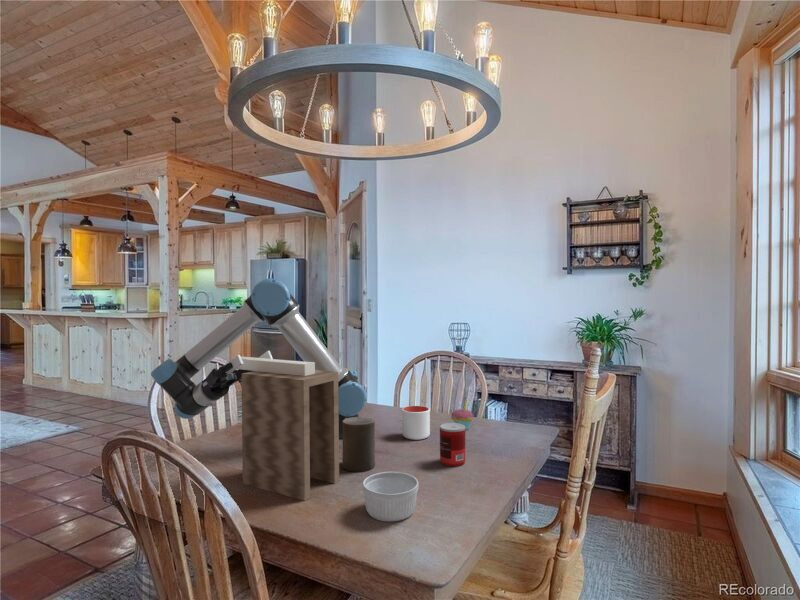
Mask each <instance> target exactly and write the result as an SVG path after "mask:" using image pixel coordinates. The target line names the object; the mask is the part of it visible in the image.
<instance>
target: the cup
mask: <svg viewBox="0 0 800 600" xmlns="http://www.w3.org/2000/svg"><path fill="white" fill-rule="evenodd" d="M401 429H402V430H401V433H402V436H403V437H404V438H406V439H408V440H412V441H413V440H414V441H417V440H419V441H420V440H425V439H427V438H429V437H430V435H431V409H430V407H427V406H424V405H409V406H405V407H402V408H401Z"/></svg>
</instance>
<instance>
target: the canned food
mask: <svg viewBox="0 0 800 600" xmlns="http://www.w3.org/2000/svg"><path fill="white" fill-rule="evenodd" d="M439 461H440V463H441V464H442V465H443V466H445V467H461V466H463V465H464V464H465V462H466V430H465V426H464V425H462V424H459V423H455V422H446V423H442V424H441V425H439Z"/></svg>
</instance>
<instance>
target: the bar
mask: <svg viewBox="0 0 800 600" xmlns="http://www.w3.org/2000/svg"><path fill="white" fill-rule="evenodd" d="M233 358H234V357H230V361H231V360H232V359H233ZM241 359H242V361H243V364H242V365H241V366H239V367H238V368H237V369H236V370H239V369H242V370H252V371H262V372H272V373H282V374H291V375H301V376H306V375H311V374H315V362H304V361H303V360H302V361H301V360H287V359H277V358H276V359H275V358H273V359H266V358H259V357H251V356H241Z"/></svg>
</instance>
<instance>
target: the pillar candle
mask: <svg viewBox="0 0 800 600" xmlns="http://www.w3.org/2000/svg"><path fill="white" fill-rule="evenodd" d="M375 422H376V421H375V419H374V418H372V417H370V416H369V417H367V416H360V415H359V416H358V417H352V418H347V419H345V420H343V439H342V468H343V469H345V470H346V471H349V472H353V473H354V472H355V473H358V472H368V471H370V470H372V469H374V468H375V466H376V440H375V439H376V437H375V436H376V428H375V427H376V425H375V424H376V423H375Z"/></svg>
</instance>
